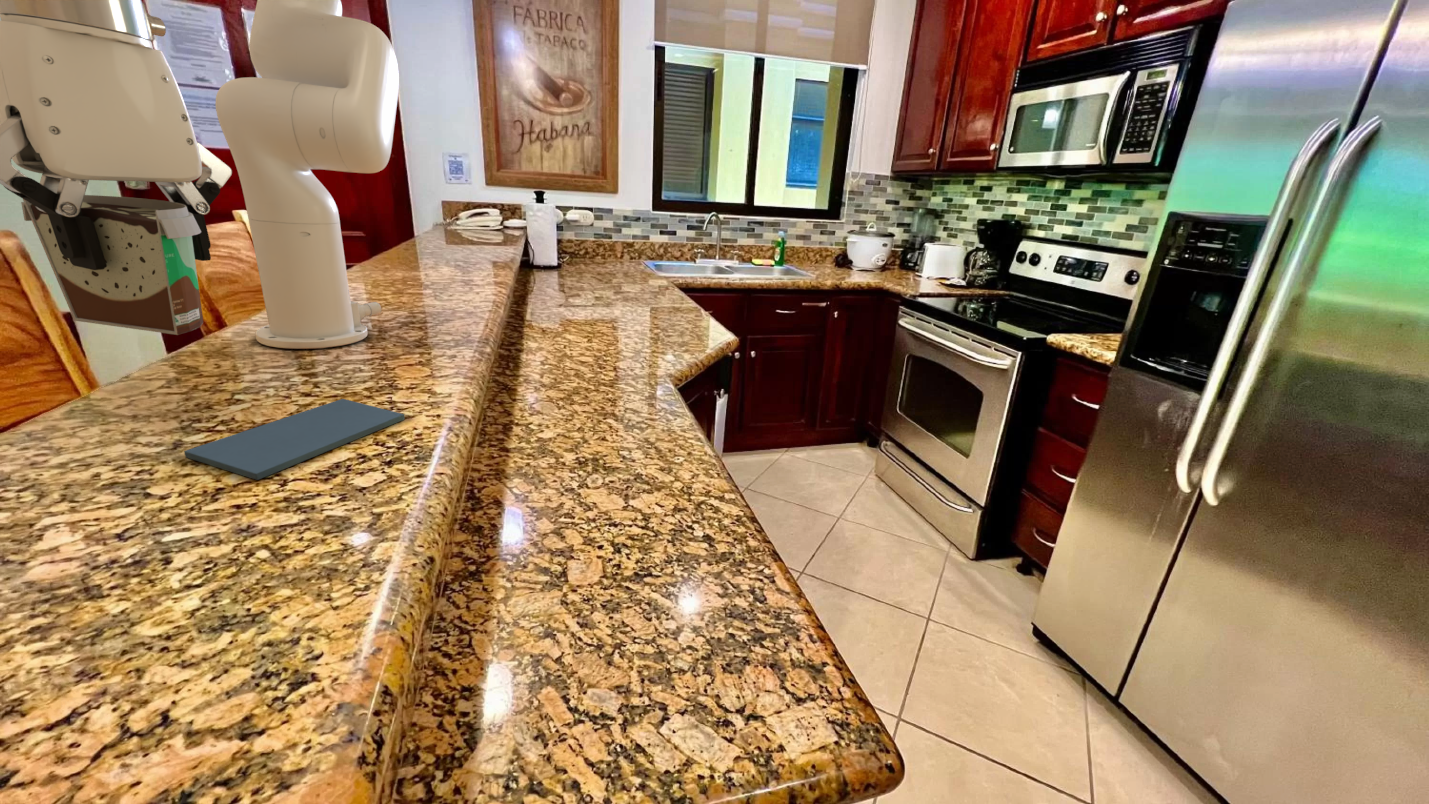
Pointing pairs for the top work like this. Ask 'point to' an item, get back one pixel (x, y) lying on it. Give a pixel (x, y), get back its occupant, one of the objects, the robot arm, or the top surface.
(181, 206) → the food container
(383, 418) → the pad
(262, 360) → the top surface
